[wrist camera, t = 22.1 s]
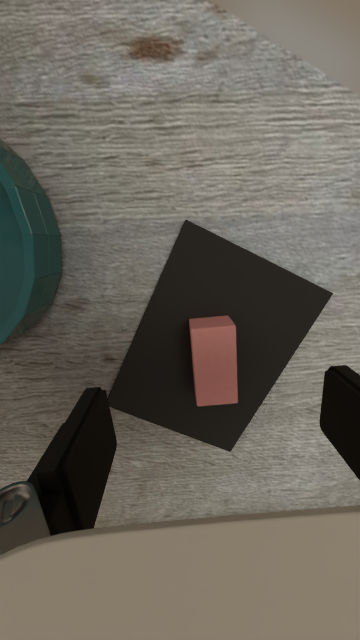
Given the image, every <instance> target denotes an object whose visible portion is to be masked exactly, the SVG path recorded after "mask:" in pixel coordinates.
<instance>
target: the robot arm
mask: <svg viewBox="0 0 360 640" xmlns="http://www.w3.org/2000/svg"><path fill="white" fill-rule="evenodd" d="M320 427H321V430H322V432H323V433H324V434H325V436H326V437H327V438H328V440H329V441H330V442H331V443H332V445H333V446H334V447H335V449H336V450H337V451H338V453H339V454H340V455H341V456H342V458H343V459H344V460H345V462H346V463H347V464H348V466H349V467H350V468H351V470H352V471H353V472H354V473H355V475H356V476H357V477H358V479H359V480H360V375H359V374H357V373H356V372H355V371H353V370H352V369H351V368H349V367H348V366H346V365H342V366H331V367H329V369H328V370H327V371H326V372H325V376H324V385H323V395H322V404H321V414H320ZM116 446H117V441H116V436H115V431H114V426H113V422H112V417H111V412H110V408H109V403H108V398H107V394H106V391H105V390H102V389H101V388H100V387H95V388H86V389H85V391H84V392H83V394H82V395H81V397H80V399H79V400H78V402H77V404H76V405H75V407H74V409H73V410H72V412H71V414H70V415H69V417H68V418H67V420H66V422H65V423H63V424H62V426H61V427H60V428H59V430H58V432H57V433H56V435H55V437H54V438H53V440H52V441H51V443H50V445H49V446H48V448H47V450H46V451H45V453H44V454H43V456H42V458H41V459H40V461H39V462H38V464H37V466H36V467H35V469H34V471H33V472H32V474H31V475H30V477H29V479H28V480H27V481H20V482H16V483H12V484H10V485H8V486H6V487H4V488H2V489H1V490H0V640H360V505H358V506H344V507H331V508H318V509H305V510H292V511H280V512H268V513H255V514H243V515H231V516H219V517H208V518H196V519H185V520H173V521H162V522H151V523H139V524H130V525H121V526H111V527H102V528H94V525H95V521H96V518H97V514H98V511H99V507H100V504H101V500H102V497H103V493H104V490H105V486H106V483H107V479H108V476H109V472H110V469H111V465H112V462H113V458H114V455H115V451H116Z"/></svg>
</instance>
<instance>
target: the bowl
mask: <svg viewBox="0 0 360 640" xmlns="http://www.w3.org/2000/svg"><path fill="white" fill-rule="evenodd" d="M60 236H61V235H60V232H59V229H58V226H57V223H56V220H55V217H54V213H53V210H52V207H51V204H50V201H49V198H48V197H47V195H46V193H45V192H44V190H43V189H42V187H41V186H40V184H39V183H38V181H37V180H36V178H35V177H34V175H33V173H32V172H31V170H30V169H29V167H28V166H27V164H26V163H25V161H24V160H23V159H22V158H21V157H20V156H19V155H18V154H17V153H16V152H14V151H13V150H12V149H11V148H10V147H9V146H8V145H7V144H6V143H4V142H3V141H2V140H1V139H0V345H2V344H4V343H6V342H7V341H9V340H11V339H13V338H14V337H16V336H18V335H19V334H21V333H23V332H25V331H26V330H28V329H30V328H31V327H33V326H34V325H35V324H36V322H37V321H38V320H39V319H40V317H41V316H42V315H43V314H44V312H45V311H46V310H47V309H48V307H49V306H50V305H51V304H52V301H53V298H54V295H55V292H56V289H57V286H58V282H59V279H60V276H61V237H60Z"/></svg>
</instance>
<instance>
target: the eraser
mask: <svg viewBox="0 0 360 640" xmlns="http://www.w3.org/2000/svg"><path fill="white" fill-rule="evenodd" d="M189 326H190V338H191V350H192V362H193V374H194V386H195V395H196V403H197V406H209V405H221V404H233V403H238V389H237V349H236V325H235V324H234V323H233V321H232V320H231V319H230V317H229V316H228V315H227V316H216V317H205V318H194V319H189Z"/></svg>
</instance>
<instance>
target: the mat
mask: <svg viewBox="0 0 360 640" xmlns="http://www.w3.org/2000/svg"><path fill="white" fill-rule="evenodd" d="M332 294H333V293H331V292H329V291H327V290H325V289H323V288H321V287H319V286H317V285H315V284H313V283H311V282H309V281H307V280H305V279H303V278H301V277H299V276H297V275H295V274H293V273H291V272H289V271H287V270H285V269H283V268H281V267H279V266H277V265H275V264H273V263H271V262H269V261H267V260H265V259H263V258H261V257H259V256H257V255H255V254H253V253H251V252H249V251H247V250H245V249H243V248H241V247H239V246H237V245H235V244H233V243H231V242H230V241H228V240H226V239H224V238H222V237H220V236H218V235H216V234H214V233H212V232H210V231H208V230H206V229H204V228H202V227H200V226H198V225H196V224H194V223H192V222H190V221H188V220H185V222H184V225H183V227H182V229H181V232H180V234H179V236H178V238H177V241H176V243H175V245H174V248H173V250H172V252H171V254H170V257H169V259H168V261H167V264H166V266H165V268H164V270H163V273H162V275H161V277H160V280H159V282H158V284H157V287H156V289H155V291H154V293H153V296H152V298H151V300H150V303H149V305H148V307H147V309H146V312H145V314H144V316H143V319H142V321H141V323H140V325H139V328H138V330H137V332H136V335H135V337H134V339H133V341H132V344H131V346H130V348H129V351H128V353H127V355H126V358H125V360H124V362H123V364H122V367H121V369H120V371H119V374H118V376H117V378H116V380H115V383H114V385H113V387H112V390H111V392H110V394H109V396H108V403H109V407H112V408H114V409H117V410H120V411H122V412H125V413H128V414H130V415H133V416H136V417H138V418H141V419H144V420H146V421H149V422H152V423H155V424H157V425H160V426H163V427H165V428H168V429H171V430H173V431H176V432H179V433H181V434H184V435H187V436H189V437H192V438H195V439H197V440H200V441H203V442H205V443H208V444H211V445H213V446H216V447H219V448H221V449H224V450H227V451H231V450H232V448H233V447H234V445H235V444H236V442H237V441H238V439H239V437H240V436H241V434H242V433H243V431H244V430H245V428H246V427H247V425H248V424H249V422H250V421H251V419H252V417H253V416H254V414H255V413H256V411H257V410H258V408H259V407H260V405H261V404H262V402H263V400H264V399H265V397H266V396H267V394H268V393H269V391H270V390H271V388H272V387H273V385H274V384H275V382H276V380H277V379H278V377H279V376H280V374H281V373H282V371H283V370H284V368H285V367H286V365H287V363H288V362H289V360H290V359H291V357H292V356H293V354H294V353H295V351H296V350H297V348H298V347H299V345H300V343H301V342H302V340H303V339H304V337H305V336H306V334H307V333H308V331H309V330H310V328H311V326H312V325H313V323H314V322H315V320H316V319H317V317H318V316H319V314H320V313H321V311H322V310H323V308H324V306H325V305H326V303H327V302H328V300H329V299H330V297H331V296H332ZM227 315H228V316H229V317H230V319H231V320H232V321H233V323H234V324H235V325H236V349H237V389H238V403H233V404H221V405H209V406H197V403H196V395H195V386H194V374H193V362H192V350H191V338H190V326H189V319H194V318H205V317H216V316H227Z"/></svg>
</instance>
